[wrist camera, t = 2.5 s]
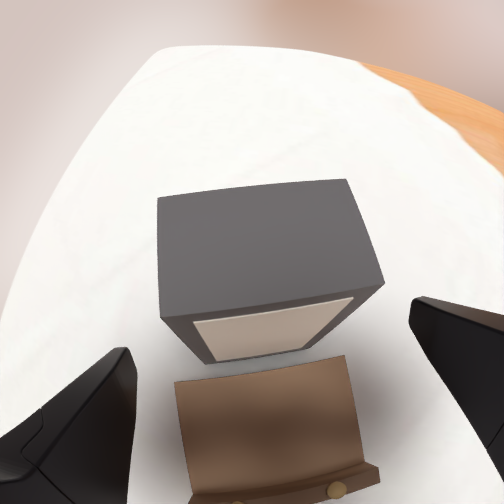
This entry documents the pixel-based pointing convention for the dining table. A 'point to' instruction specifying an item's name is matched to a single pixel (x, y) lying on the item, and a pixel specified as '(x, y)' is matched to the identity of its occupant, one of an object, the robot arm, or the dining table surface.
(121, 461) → the robot arm
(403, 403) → the dining table surface
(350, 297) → the grey box
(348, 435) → the drawer
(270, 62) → the dining table surface
